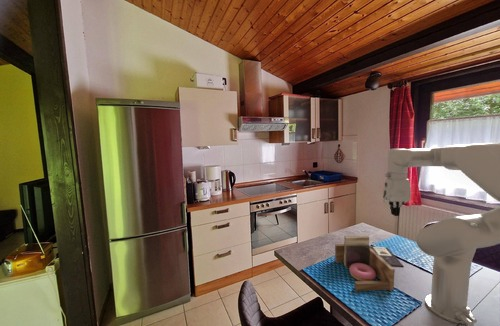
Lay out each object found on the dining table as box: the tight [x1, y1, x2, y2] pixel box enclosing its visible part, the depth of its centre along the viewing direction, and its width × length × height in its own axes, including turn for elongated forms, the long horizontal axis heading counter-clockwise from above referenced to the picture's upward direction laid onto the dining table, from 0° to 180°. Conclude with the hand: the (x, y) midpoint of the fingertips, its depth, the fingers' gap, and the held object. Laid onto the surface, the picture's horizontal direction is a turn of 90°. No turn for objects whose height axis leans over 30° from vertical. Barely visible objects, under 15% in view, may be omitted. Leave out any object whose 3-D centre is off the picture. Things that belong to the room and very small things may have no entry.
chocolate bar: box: [369, 245, 404, 268], centre depth 113 cm, size 9×1×18 cm
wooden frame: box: [334, 234, 396, 292], centre depth 99 cm, size 22×16×15 cm
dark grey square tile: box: [345, 244, 370, 269], centre depth 104 cm, size 1×11×11 cm, turn 90°
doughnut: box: [348, 263, 377, 281], centre depth 98 cm, size 11×11×4 cm
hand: (395, 215), depth 98 cm, fingers closed
